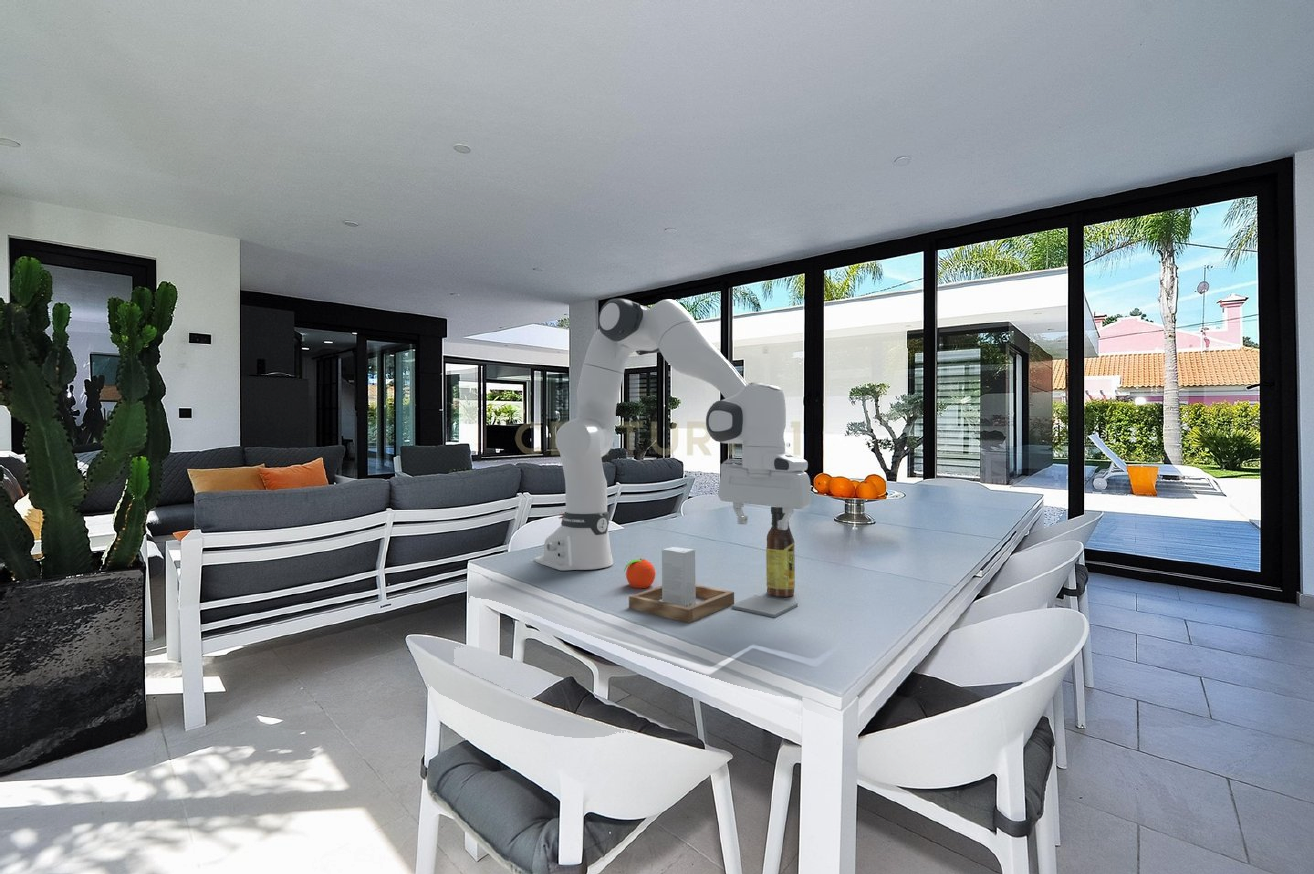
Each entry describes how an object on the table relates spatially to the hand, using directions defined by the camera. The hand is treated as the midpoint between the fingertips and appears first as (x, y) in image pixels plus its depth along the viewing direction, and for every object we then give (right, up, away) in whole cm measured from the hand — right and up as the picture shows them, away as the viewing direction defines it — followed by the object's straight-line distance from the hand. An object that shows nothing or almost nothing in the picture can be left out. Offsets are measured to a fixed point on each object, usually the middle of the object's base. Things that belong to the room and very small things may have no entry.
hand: (762, 526), depth 122 cm
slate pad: (+1, -17, 0) cm, 17 cm away
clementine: (-26, -17, +15) cm, 35 cm away
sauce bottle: (+6, -17, +10) cm, 21 cm away
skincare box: (-17, -17, +1) cm, 24 cm away
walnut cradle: (-17, -17, +1) cm, 24 cm away
